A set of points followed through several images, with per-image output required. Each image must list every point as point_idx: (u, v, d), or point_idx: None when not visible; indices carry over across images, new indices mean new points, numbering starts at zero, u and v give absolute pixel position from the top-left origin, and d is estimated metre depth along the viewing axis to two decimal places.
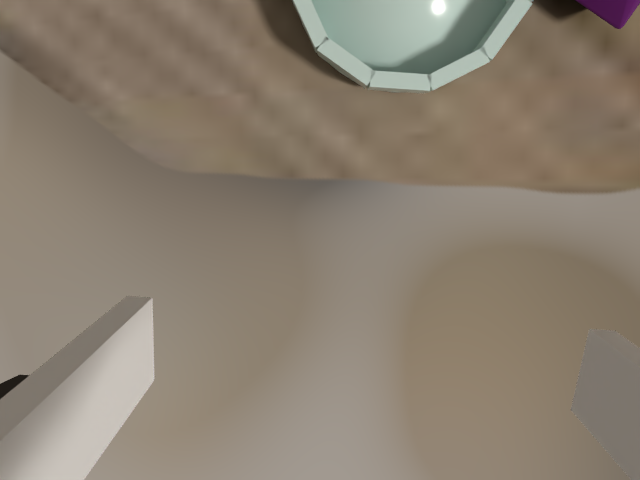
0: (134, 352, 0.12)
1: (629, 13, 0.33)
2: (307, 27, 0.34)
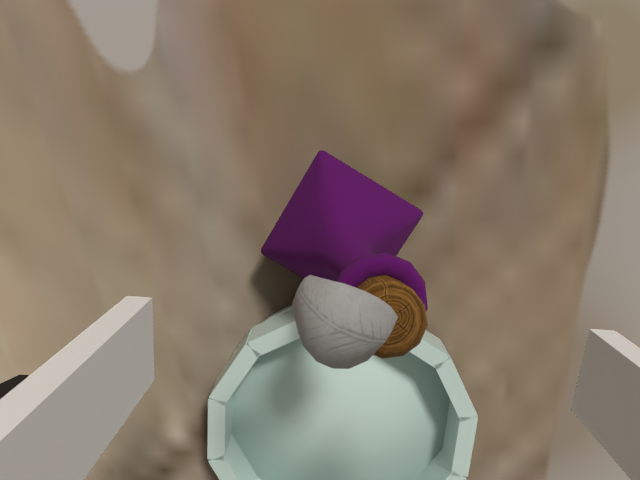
0: (134, 352, 0.12)
1: (411, 214, 0.27)
2: None
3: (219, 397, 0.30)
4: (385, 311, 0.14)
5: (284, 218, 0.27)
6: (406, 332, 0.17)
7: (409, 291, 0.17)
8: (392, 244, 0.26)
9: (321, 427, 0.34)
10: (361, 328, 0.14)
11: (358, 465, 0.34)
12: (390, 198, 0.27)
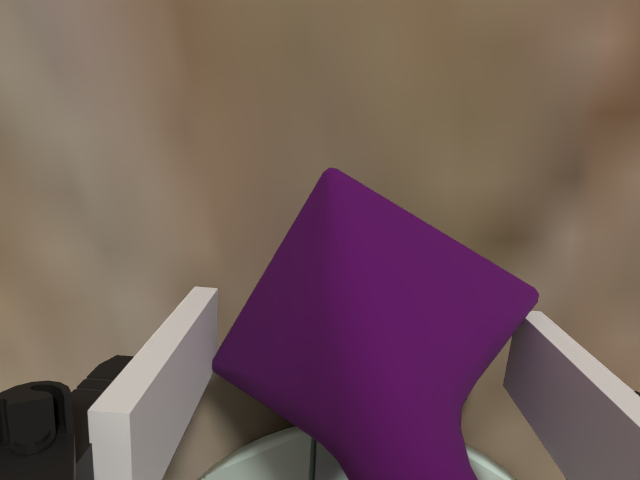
0: (206, 337, 0.13)
1: (521, 303, 0.13)
2: None
3: None
4: None
5: (254, 307, 0.13)
6: None
7: None
8: None
9: None
10: None
11: None
12: (477, 268, 0.13)
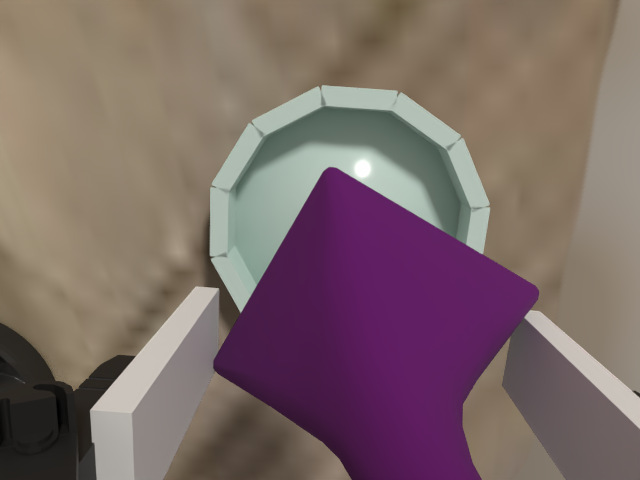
0: (208, 337, 0.13)
1: (522, 300, 0.13)
2: None
3: (221, 184, 0.29)
4: None
5: (255, 307, 0.13)
6: None
7: None
8: (484, 367, 0.12)
9: None
10: None
11: None
12: (477, 266, 0.13)
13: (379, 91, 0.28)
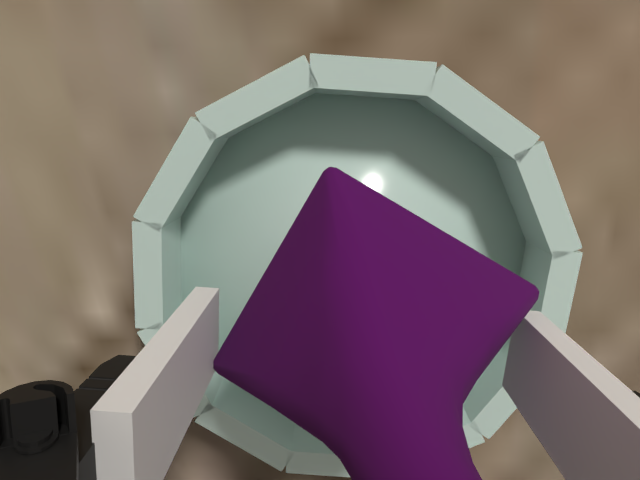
0: (208, 337, 0.13)
1: (522, 300, 0.13)
2: None
3: (150, 216, 0.18)
4: None
5: (255, 307, 0.13)
6: None
7: None
8: (484, 367, 0.12)
9: None
10: None
11: None
12: (477, 266, 0.13)
13: (406, 63, 0.17)
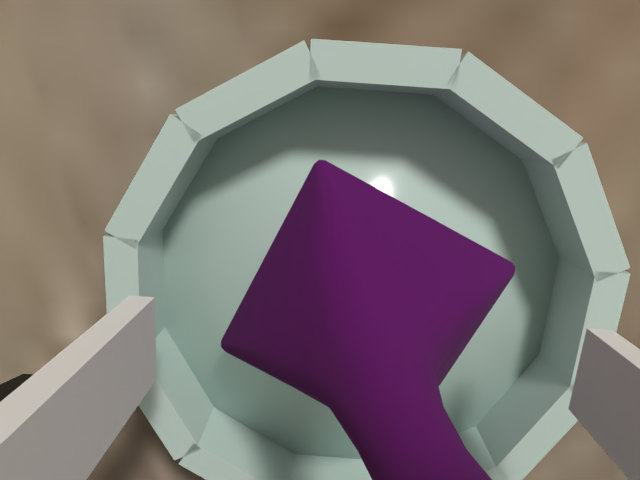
0: (137, 351, 0.12)
1: (498, 274, 0.14)
2: None
3: (124, 231, 0.16)
4: None
5: (257, 288, 0.15)
6: None
7: None
8: (464, 335, 0.13)
9: None
10: None
11: None
12: (456, 244, 0.14)
13: (425, 50, 0.14)
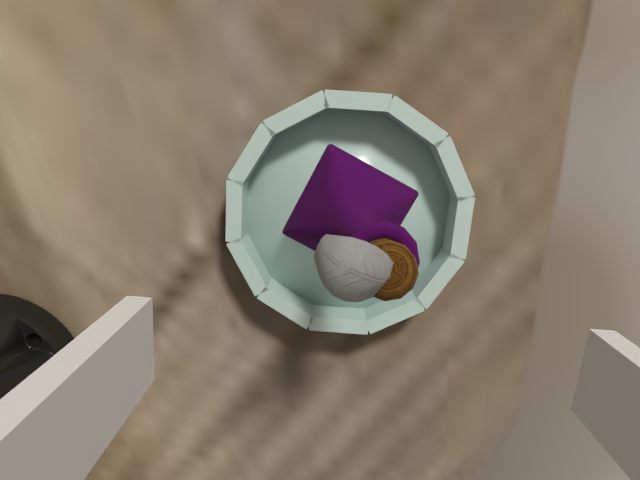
0: (134, 352, 0.12)
1: (408, 194, 0.31)
2: (406, 317, 0.35)
3: (236, 177, 0.33)
4: (383, 257, 0.19)
5: (301, 203, 0.32)
6: (402, 279, 0.21)
7: (403, 247, 0.22)
8: (393, 220, 0.31)
9: None
10: (365, 270, 0.19)
11: None
12: (390, 181, 0.32)
13: (376, 94, 0.31)
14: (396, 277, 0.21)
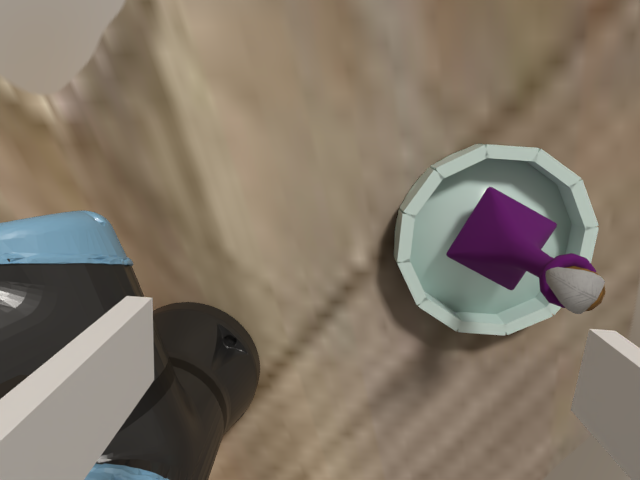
0: (134, 352, 0.12)
1: (551, 226, 0.40)
2: (537, 321, 0.44)
3: (410, 211, 0.42)
4: (601, 283, 0.28)
5: (465, 232, 0.41)
6: None
7: (595, 274, 0.30)
8: (541, 246, 0.40)
9: None
10: (591, 292, 0.27)
11: None
12: (537, 216, 0.40)
13: (526, 148, 0.40)
14: None
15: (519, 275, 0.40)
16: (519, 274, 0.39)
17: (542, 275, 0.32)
